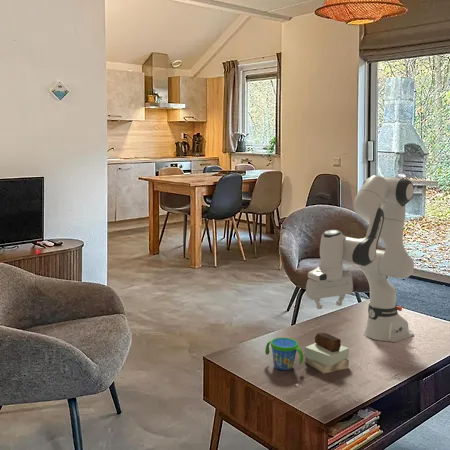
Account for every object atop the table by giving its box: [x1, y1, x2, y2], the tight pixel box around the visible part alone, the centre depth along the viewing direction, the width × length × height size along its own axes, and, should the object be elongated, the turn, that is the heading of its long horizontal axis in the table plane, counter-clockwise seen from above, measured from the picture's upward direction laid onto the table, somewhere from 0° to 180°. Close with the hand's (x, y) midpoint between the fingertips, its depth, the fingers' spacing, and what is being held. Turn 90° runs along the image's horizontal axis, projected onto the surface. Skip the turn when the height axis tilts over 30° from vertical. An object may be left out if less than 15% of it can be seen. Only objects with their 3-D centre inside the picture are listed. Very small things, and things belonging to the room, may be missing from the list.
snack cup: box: [265, 337, 304, 372], centre depth 214 cm, size 16×10×10 cm
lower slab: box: [304, 356, 350, 374], centre depth 217 cm, size 12×12×4 cm
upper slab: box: [304, 342, 350, 366], centre depth 216 cm, size 12×12×4 cm
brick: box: [314, 332, 342, 352], centre depth 216 cm, size 11×4×5 cm, turn 33°
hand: (329, 307), depth 214 cm, fingers open, 8 cm apart
